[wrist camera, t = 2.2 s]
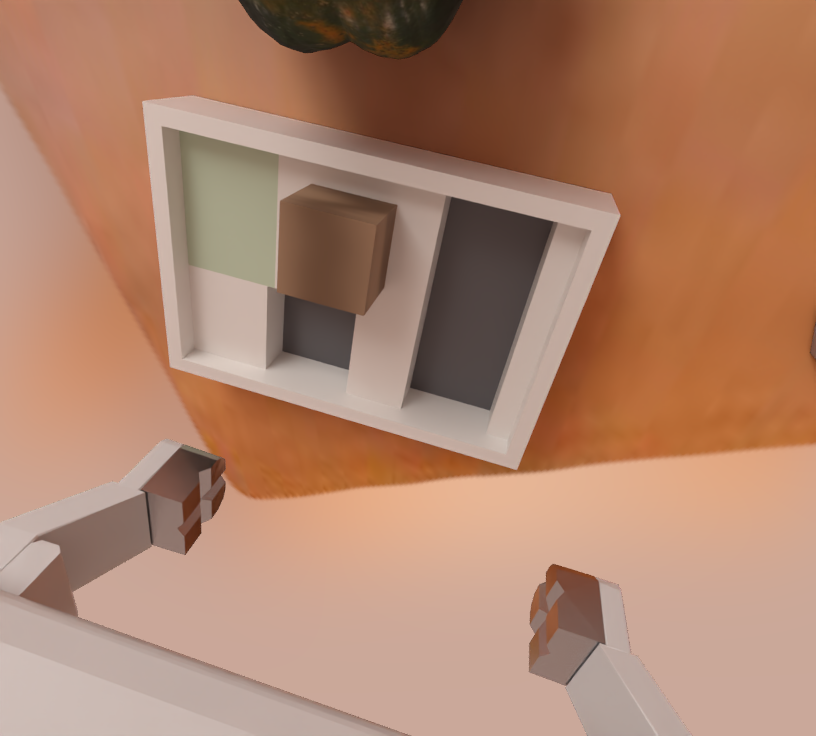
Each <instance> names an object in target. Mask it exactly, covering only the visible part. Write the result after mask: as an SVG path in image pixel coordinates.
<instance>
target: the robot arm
mask: <svg viewBox="0 0 816 736" xmlns="http://www.w3.org/2000/svg"><path fill="white" fill-rule="evenodd" d="M225 469H226V467H225V459H224V458H222V457H219V456H216V455H213V454H210V453H207V452H205V451H202V450H199V449H196V448H193V447H190V446H187V445H184V444H181V443H178V442H175V441H172V440H169V439H165V440H163V441H161V442H159V443H158V444H157V445H156V446H155V447H154V448H153V449H152V450H151V451H150V452H149V453H148V454H147V455H146V456H145V457H144V458H143V459H142V460H141V461H140V462H139V463H138V464H137V465H136V466H135V467H134V468H133V469H132V470H131V471H130V472H129V473H128V474H127V475H126V476H125V477H124V478H123V479H122V480H121V481H120V482H119V483H116V482H109V483H107V484H104V485H101V486H98V487H96V488H93V489H91V490H87V491H85V492H82V493H79V494H76V495H74V496H71V497H68V498H66V499H63V500H60V501H57V502H55V503H52V504H49V505H46V506H44V507H41V508H38V509H35V510H33V511H30V512H27V513H24V514H22V515H19V516H16V517H13V518H11V519H8V520H5V521H3V522H0V736H410V735H407V734H404V733H401V732H398V731H396V730H393V729H390V728H388V727H385V726H382V725H379V724H376V723H374V722H371V721H368V720H365V719H362V718H359V717H356V716H354V715H351V714H348V713H346V712H343V711H340V710H337V709H334V708H332V707H329V706H326V705H323V704H320V703H318V702H315V701H312V700H309V699H306V698H304V697H301V696H298V695H295V694H292V693H290V692H287V691H284V690H281V689H278V688H276V687H272V686H270V685H267V684H264V683H261V682H259V681H256V680H253V679H250V678H247V677H245V676H242V675H239V674H236V673H233V672H231V671H228V670H225V669H222V668H219V667H217V666H214V665H211V664H208V663H205V662H202V661H200V660H197V659H194V658H191V657H188V656H186V655H183V654H180V653H177V652H174V651H172V650H169V649H166V648H163V647H160V646H158V645H155V644H152V643H149V642H146V641H143V640H141V639H138V638H135V637H132V636H129V635H127V634H124V633H121V632H118V631H116V630H113V629H110V628H107V627H104V626H101V625H99V624H96V623H93V622H90V621H88V620H85V619H82V618H79V617H78V611H77V607H76V603H75V600H74V596H73V593H72V592H73V591H75V590H77V589H79V588H80V587H82V586H84V585H86V584H87V583H89V582H91V581H92V580H94V579H96V578H98V577H99V576H101V575H103V574H105V573H106V572H108V571H110V570H112V569H113V568H115V567H117V566H119V565H120V564H122V563H123V562H126V561H127V560H129V559H131V558H133V557H134V556H136V555H138V554H140V553H141V552H143V551H145V550H147V549H148V548H150V547H151V545H154V546H158V547H161V548H164V549H167V550H171V551H174V552H177V553H180V554H184V555H186V553H187V552H188V551H189V549H190V548H191V547H192V545H193V544H194V542H195V541H196V540H197V538H198V537H199V536H200V534H201V523H203V522H206V521H208V520H210V519H212V517H213V516H214V514H215V513H216V512H217V510H218V509H219V506H220V504H221V502H222V500H223V497H224V493H225V481H224V479H223V478H222V476H221V474H222V473H223V472H224V471H225ZM530 626H531V628H532V629H533V631H534V633H535V635H534V637H533V638H532V640H531V642H530V643H529V672H530V673H533V674H536V675H538V676H541V677H544V678H546V679H549V680H552V681H555V682H557V683H560V684H562V685H565V686H566V690H567V692H568V694H569V697H570V699H571V701H572V703H573V706H574V707H575V710H576V712H577V714H578V717H579V719H580V721H581V723H582V725H583V727H584V729H585V732H586V734H587V736H692V734H691V733H690V731H689V730H688V728H687V727H686V725H685V724H684V723H683V721H682V720H681V718H680V717H679V715H678V714H677V712H676V711H675V709H674V708H673V706H672V705H671V704H670V702H669V701H668V699H667V698H666V696H665V695H664V693H663V692H662V691H661V689H660V688H659V686H658V685H657V683H656V682H655V680H654V679H653V677H652V676H651V674H650V673H649V672H648V670H647V669H646V667H645V666H644V664H643V663H642V661H641V660H640V658H639V657H638V656H637V655H634V654H631V649H630V642H629V637H628V630H627V624H626V617H625V612H624V605H623V599H622V592H621V588H620V587H619V585H618V584H615V583H612V582H609V581H606V580H603V579H599V578H596V577H594V576H591V575H588V574H585V573H582V572H578V571H575V570H572V569H569V568H566V567H562V566H559V565H556V564H552V565H551V566H550V567H549V569H548V571H547V572H546V582H545V583H542V584H540V585H539V586H538V588H537V590H536V592H535V594H534V597H533V601H532V604H531V611H530Z"/></svg>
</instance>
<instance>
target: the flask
mask: <svg viewBox="0 0 816 736" xmlns="http://www.w3.org/2000/svg"><path fill="white" fill-rule="evenodd" d="M810 353H811V354H812V356H813V357H814V358H815V359H816V324H815V329H814V335H813V341H812V346H811V352H810Z"/></svg>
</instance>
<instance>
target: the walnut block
mask: <svg viewBox="0 0 816 736" xmlns="http://www.w3.org/2000/svg"><path fill="white" fill-rule="evenodd" d="M396 211H397V205H396V204H392V203H388V202H383V201H379V200H375V199H371V198H367V197H363V196H359V195H355V194H351V193H347V192H343V191H339V190H335V189H331V188H327V187H323V186H319V185H315V184H310V185H308V186H306V187H304V188H303V189H301V190H299V191H297V192H295V193H293V194H291V195H290V196H288V197H286V198H284V199H282V200H280V211H279V241H278V272H277V292H278V293H281V294H285V295H289V296H292V297H296V298H300V299H303V300H307V301H310V302H314V303H318V304H321V305H325V306H329V307H332V308H336V309H340V310H343V311H347V312H351V313H354V314H358V315H362V316H364V315H365V314H366V312H367V311H368V310H369V308H370V307H371V305H372V304H373V303H374V301H375V300H376V298H377V297H378V296H379V294H380V293H381V292H382V290H383V289H384V286H385V280H386V273H387V267H388V261H389V255H390V249H391V242H392V236H393V230H394V224H395V218H396Z"/></svg>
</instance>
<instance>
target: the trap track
mask: <svg viewBox="0 0 816 736" xmlns="http://www.w3.org/2000/svg"><path fill="white" fill-rule="evenodd" d="M142 103H143V113H144V122H145V132H146V141H147V151H148V160H149V170H150V179H151V189H152V199H153V208H154V218H155V227H156V237H157V246H158V256H159V265H160V275H161V285H162V294H163V304H164V313H165V323H166V332H167V342H168V351H169V361H170V367H172V368H175V369H178V370H182V371H185V372H189V373H192V374H195V375H199V376H202V377H205V378H209V379H212V380H215V381H219V382H222V383H226V384H229V385H232V386H236V387H239V388H242V389H246V390H249V391H252V392H256V393H259V394H263V395H266V396H269V397H273V398H276V399H279V400H283V401H286V402H289V403H293V404H296V405H300V406H303V407H306V408H310V409H313V410H316V411H320V412H323V413H326V414H330V415H333V416H337V417H340V418H343V419H347V420H350V421H353V422H357V423H360V424H363V425H367V426H370V427H374V428H377V429H380V430H384V431H387V432H390V433H394V434H397V435H400V436H404V437H407V438H411V439H414V440H417V441H421V442H424V443H427V444H431V445H434V446H437V447H441V448H444V449H448V450H451V451H454V452H458V453H461V454H464V455H468V456H471V457H474V458H478V459H481V460H485V461H488V462H491V463H495V464H498V465H501V466H505V467H508V468H511V469H515V470H517V468H518V466H519V463H520V461H521V458H522V456H523V453H524V451H525V449H526V446H527V444H528V441H529V439H530V436H531V434H532V431H533V429H534V426H535V424H536V422H537V419H538V417H539V414H540V412H541V409H542V407H543V404H544V402H545V400H546V397H547V395H548V392H549V390H550V387H551V385H552V382H553V380H554V377H555V375H556V373H557V370H558V368H559V365H560V363H561V360H562V358H563V355H564V353H565V350H566V348H567V346H568V343H569V341H570V338H571V336H572V333H573V331H574V328H575V326H576V323H577V321H578V319H579V316H580V314H581V311H582V309H583V306H584V304H585V301H586V299H587V297H588V294H589V292H590V289H591V287H592V284H593V282H594V279H595V277H596V274H597V272H598V270H599V267H600V265H601V262H602V260H603V257H604V255H605V252H606V250H607V247H608V245H609V243H610V240H611V238H612V235H613V233H614V230H615V228H616V225H617V223H618V220H619V218H620V216H621V215H620V213H619V211H618V208H617V206H616V204H615V201H614V199H613V196H612V194H610V193H606V192H601V191H597V190H593V189H589V188H584V187H580V186H576V185H572V184H567V183H563V182H559V181H555V180H550V179H546V178H542V177H538V176H533V175H529V174H525V173H521V172H516V171H512V170H508V169H504V168H499V167H495V166H491V165H487V164H482V163H478V162H474V161H470V160H465V159H461V158H457V157H453V156H448V155H444V154H440V153H436V152H431V151H427V150H423V149H419V148H414V147H410V146H406V145H402V144H397V143H393V142H389V141H385V140H380V139H376V138H372V137H368V136H363V135H359V134H355V133H351V132H346V131H342V130H338V129H334V128H329V127H325V126H321V125H317V124H312V123H308V122H304V121H300V120H295V119H291V118H287V117H283V116H278V115H274V114H270V113H266V112H261V111H257V110H253V109H249V108H244V107H240V106H236V105H232V104H227V103H223V102H219V101H215V100H210V99H206V98H202V97H198V96H193V95H191V96H182V97H173V98H165V99H156V100H147V101H142ZM310 184H315V185H319V186H323V187H327V188H331V189H335V190H339V191H343V192H347V193H351V194H355V195H359V196H363V197H367V198H371V199H375V200H379V201H383V202H388V203H392V204H396V205H397V211H396V218H395V224H394V230H393V236H392V242H391V249H390V255H389V261H388V267H387V273H386V280H385V286H384V289H383V290H382V292H381V293H380V294H379V296H378V297H377V298H376V300H375V301H374V303H373V304H372V305H371V307H370V308H369V310H368V311H367V312H366V314H365V315H364V316H362V315H358V314H354V313H351V312H347V311H343V310H340V309H336V308H332V307H329V306H325V305H321V304H318V303H314V302H310V301H307V300H303V299H300V298H296V297H292V296H289V295H285V294H281V293H278V292H277V272H278V241H279V211H280V200H282V199H284V198H286V197H288V196H290V195H291V194H293V193H295V192H297V191H299V190H301V189H303V188H304V187H306V186H308V185H310Z"/></svg>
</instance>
